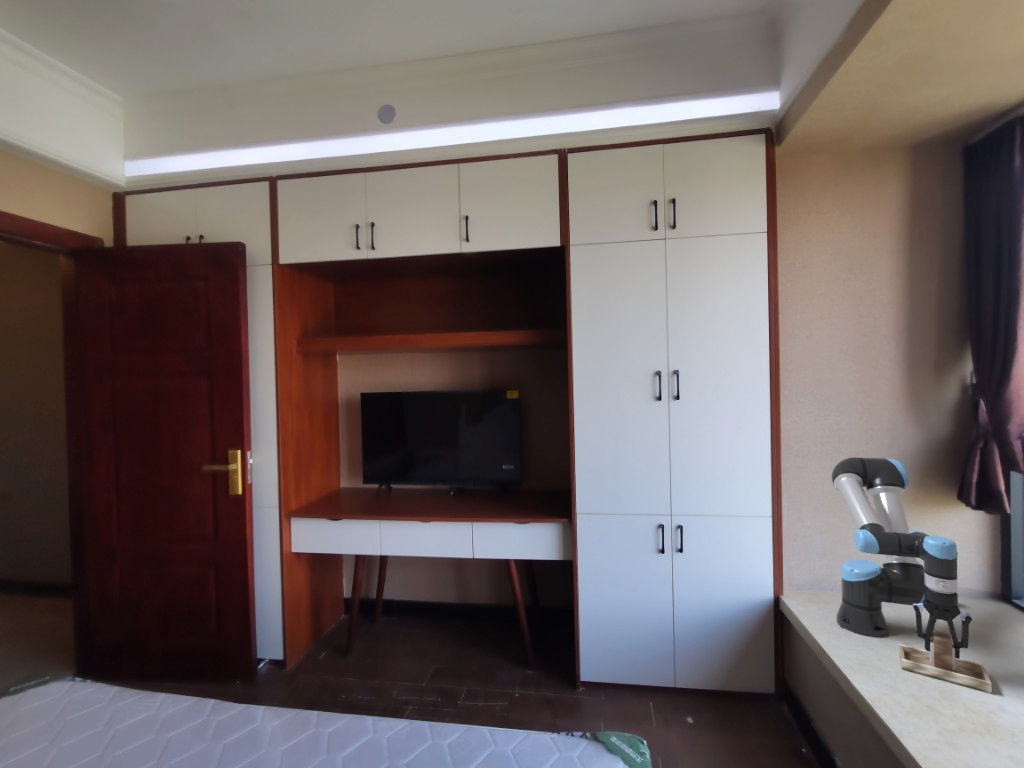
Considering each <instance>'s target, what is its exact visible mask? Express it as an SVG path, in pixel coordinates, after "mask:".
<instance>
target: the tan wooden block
mask: <svg viewBox="0 0 1024 768" xmlns="http://www.w3.org/2000/svg"><path fill="white" fill-rule="evenodd" d="M931 639H932V640H933V643H934V667H936V668H939V669H943V670H947V671H951V672H953V657H952V644H953V641H952V637H951V635H950V633H945V632H941V631H937V630H933V633H932V637H931Z"/></svg>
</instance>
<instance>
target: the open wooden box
mask: <svg viewBox="0 0 1024 768" xmlns="http://www.w3.org/2000/svg"><path fill="white" fill-rule="evenodd" d="M898 648H899V651H898V652H899V658H900V659H899V660H900V665H901V670H903V671H906V672H910V673H913V674H917V675H921V676H925V677H929V678H932V679H936V680H938V681H939V680H940V681H943V682H947V683H951V684H954V685H957V686H961V687H965V688H969V689H972V690H975V691H980V692H983V693H985V694H986V693H987V694H992V693H993V692H992V691H993V690H992V687H993V686H992V682H991V680H990V677H989V674H988V672H987V670H986V667H985V665H984V664H981V663H979V662H974V661H971V660H965V659H962V658H959V659H957V658H955V670H953V672H951V671H947V670H943V669H939V668H936V667H934V664H931V663H930V653H929V651H926V649H921V648H919V647H918V648H917V647H914V646H910V645H905V644H901V643H899V644H898Z"/></svg>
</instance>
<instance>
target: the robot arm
mask: <svg viewBox="0 0 1024 768" xmlns="http://www.w3.org/2000/svg"><path fill="white" fill-rule="evenodd" d="M831 481H832V482H831V483H832V484H833V486H834V488H835V489H836V491H838V492H839V493H840V495H841V497H842V499H843V501H844V503H845V505H846V508H847V510H848V513H850V516H851V518H852V521H853V522H854V524H855V527H856V531H854V538H853V539H854V542H855V543H854V544H855V547H856V549H857V550H858V551H859V552H860V553H865V554H871V555H884V556H885V560H884V561H883V562H882V564H881V565H882V566H881V565H880V564H879V563H876V562H875V561H869V560H866V559H865V560H864V559H853V560H852V559H851V560H848V561H845V562H844V563H843V564H842V565H841V573H840V577H841V604H840V605H839V608H838V611H837V613H836V623H837V625H839V626H840V627H841V628H842V629H845V630H846V631H848V632H852V633H853V634H856V635H860V636H864V637H870V638H884V637H887V636H888V635H889V625H888V623H887V620H886V617H885V615H884V612H883V610H882V608H883V607H882V606H883V605H882V604H883V603H888V604H896V605H905V606H912V608H913V610H914V612H915V613H914V614H915V622H916V623H915V624H916V625H915V628H916V635H917V637H918V638H919V639H923V640H924V650H926V651H929V653H930V663H931V664H934V643H933V640H932V633H933V631H935V630H934V629H935V625H936V623H937V620H940V621H941V620H942V621H943V622H944V621H945V622H947V626H948V631H949V635H950V638H951V641H952V657H953V670H955V658H957V659H961V658H960V657H961V654H960V653H961V649H965V650H966V649H968V648H969V638H970V637H969V633H970V631H969V629H970V624H971V622H972V621H973V618H972V615H971V614H970V613H967V612H966V613H965V612H963V611H961V610H960V608H959V594H958V593H957V592H958V589H959V588H958V557H959V555H958V549H957V544H956V542H955V541H954V540H953V539H950V538H947V537H943V536H938V535H929V534H927V533H926V532H923V531H920V530H911V531H910V529H909V528H910V527H909V524H908V520H907V516H906V513H905V508H904V503H903V500H902V495H903V494H904V493H905V489H907V488H908V486H909V483H910V482H909V475H908V471H907V469H906V467H905V465H904V464H903V463H902V462H901V461H900V460H898V459H895V458H887V457H882V458H881V457H880V458H879V457H878V458H877V457H852V456H851V457H847V458H844V459H843V460H841V461H839V462H838V463H837V464H836V465H835V466H834V468H833V469H832V472H831ZM864 488H866V491H865V489H864ZM867 494H868V495H870V496H871V497H872V499H873V503H874V506H873V505H872V503H871V501H870V498H869V496H868V495H867ZM918 559H921V560H922V561H923V564H922V563H921V562H920V561H918ZM924 609H925V610H926V611H927V612H928V614H929V617H928V621H927V623H926V624H927V625H926V629H925V631H924V632H923V621H922V612H923V611H924ZM958 616H960V620H961V631H960V633H961V637H960V641H959V639H958V636H957V633H956V628H955V625H954V622H953V621H954V620H955V618H957V617H958Z"/></svg>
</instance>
